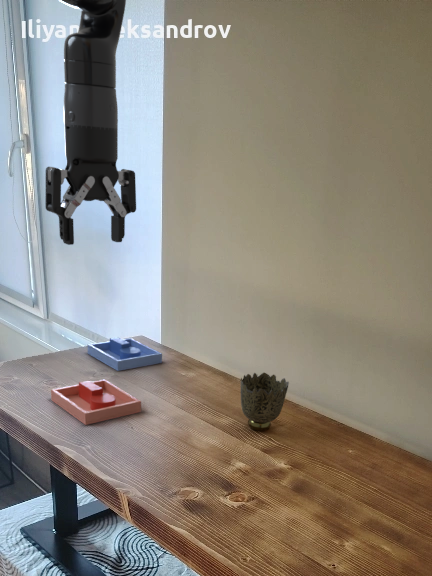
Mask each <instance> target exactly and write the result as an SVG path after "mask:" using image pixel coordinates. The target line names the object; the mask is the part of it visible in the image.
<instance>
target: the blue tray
mask: <svg viewBox="0 0 432 576" xmlns="http://www.w3.org/2000/svg"><path fill="white" fill-rule="evenodd" d="M122 339H123V340H125V341H127V342H129V343H130V347H134V348H138V349H140V350H141V356H139V357H133V358H128V359H122V360H120V356H118V355H117V354H115V353H113V352H111V351H110V340H108V341H102V342H101V341H100V342H95V343H88V344H87V354H88V355H89V356H91V357H92V358H94V359H97V360H98V361H100V362H102V363H103V364H105V365H106V366H109V367H110V368H112V369H114V370H115V371H117V372H121V371H125V370H130V369H136V368H141V367H146V366H147V367H148V366H153V365H158V364H162V363H163V353H162V352H160V351H158V350H156V349H154V348H152V347H150V346H148V345H146V344H144V343H143V342H140V341H138V340H136V339H134V338H132V337H128V338H122Z"/></svg>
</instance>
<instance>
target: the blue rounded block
mask: <svg viewBox="0 0 432 576" xmlns="http://www.w3.org/2000/svg"><path fill="white" fill-rule="evenodd" d="M123 339H124V338H121V337H119V336H117V337H110V338H109V341H110V351H111V352H113V353H115V354H117V355H118V356H120V360H122V359H128V358H133V357H139V356H141V350H140V349H138V348H134V347H130V343H129V342H127V341H125V340H123Z"/></svg>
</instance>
